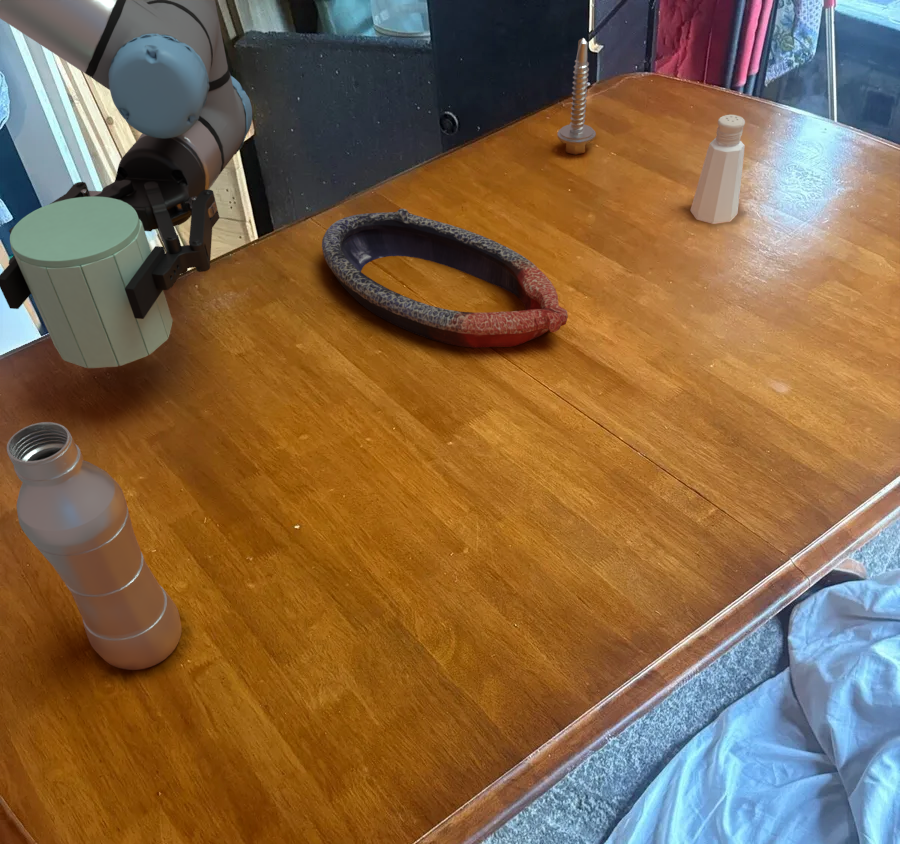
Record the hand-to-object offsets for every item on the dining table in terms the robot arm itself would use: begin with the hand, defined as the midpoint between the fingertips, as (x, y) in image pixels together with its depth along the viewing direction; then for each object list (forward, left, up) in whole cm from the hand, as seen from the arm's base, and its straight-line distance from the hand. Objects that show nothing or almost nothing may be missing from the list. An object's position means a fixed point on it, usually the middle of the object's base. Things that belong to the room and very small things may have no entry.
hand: (70, 299), depth 73 cm
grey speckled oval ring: (+18, +30, -14) cm, 37 cm away
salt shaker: (+39, +58, -14) cm, 71 cm away
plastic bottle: (+18, -19, -14) cm, 30 cm away
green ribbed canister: (-1, +4, -6) cm, 7 cm away
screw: (+18, +68, -14) cm, 72 cm away
